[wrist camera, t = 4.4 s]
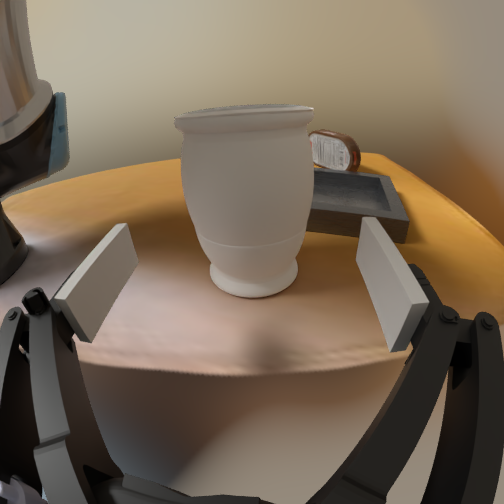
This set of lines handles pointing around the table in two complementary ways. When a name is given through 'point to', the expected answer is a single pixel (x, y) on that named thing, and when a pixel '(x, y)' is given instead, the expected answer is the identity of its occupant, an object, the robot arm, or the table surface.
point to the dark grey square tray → (355, 204)
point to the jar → (248, 192)
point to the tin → (334, 150)
